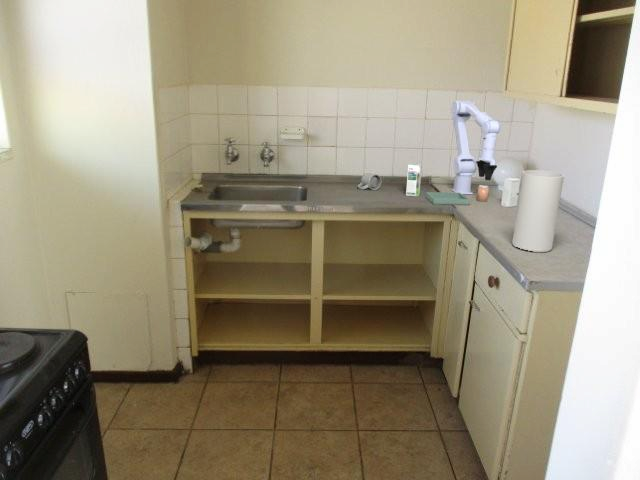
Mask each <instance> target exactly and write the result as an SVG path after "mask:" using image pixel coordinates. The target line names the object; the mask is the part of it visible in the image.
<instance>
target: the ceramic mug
mask: <svg viewBox="0 0 640 480" xmlns="http://www.w3.org/2000/svg"><path fill="white" fill-rule="evenodd" d="M381 186H382V178H381V176H380V175H379V174H377V173H371V172H370V173H365V174H363V175H362V177H361V179H360V183H359V184H357V187H358V190H361V191H363V190H366V189H369V190H372V191H376V190H378V189H379V188H380V187H381Z"/></svg>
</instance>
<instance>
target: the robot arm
mask: <svg viewBox="0 0 640 480" xmlns="http://www.w3.org/2000/svg"><path fill="white" fill-rule="evenodd" d="M476 105H477V104H476V102H474V101H473V100H457V99H456V100H453V102H452V104H451V106H450V112H451V113H450V114H451V120H452V121H453V125H454V133H455V140H456V149H457V154H458V155H457V156H456V157H455V158H454V159H453V172H454V173H455V176H454V179H453V180H454V181H453V188H451V191H452V193H461V194H463V195H473V194H474V193H473V192H472V191H471V190H472V189H471V187H472V180H473V176H474V174H475V173H476V172H477V170H478V176H479V178H484V179H485V181H491V180H492V177H493V175H494V172H495V170H496V169H497V168H498V165H496V161H495V154H496V153H495V151H496V145H497V138H498V137H497V136H498V134H499V133H500V132H501V127H502V125H501V123H500V121H499V120H496V119H495V120H494V119H493V117H490V116H489V115H488V113H487V112H486V111H480V109H478V107H477V106H476ZM471 117H473V118H474V121H475V123H476V125H478V126H479V127H480V128H481V129H480V130H481V138H482V142H481V152H480V155H478V157H477V160H476V158H475V157H474V155H472V154H471V152H470V148H469V140H468V132H467V126H466V122H467V121H468V120H470V119H471Z"/></svg>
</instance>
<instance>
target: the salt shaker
mask: <svg viewBox="0 0 640 480" xmlns="http://www.w3.org/2000/svg"><path fill="white" fill-rule="evenodd" d="M489 190H490V187H489V185H488V184H479V185H478V187H477V195H476V196H477V197H476V201H477V202H479V203H486V202H488V197H489Z"/></svg>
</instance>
